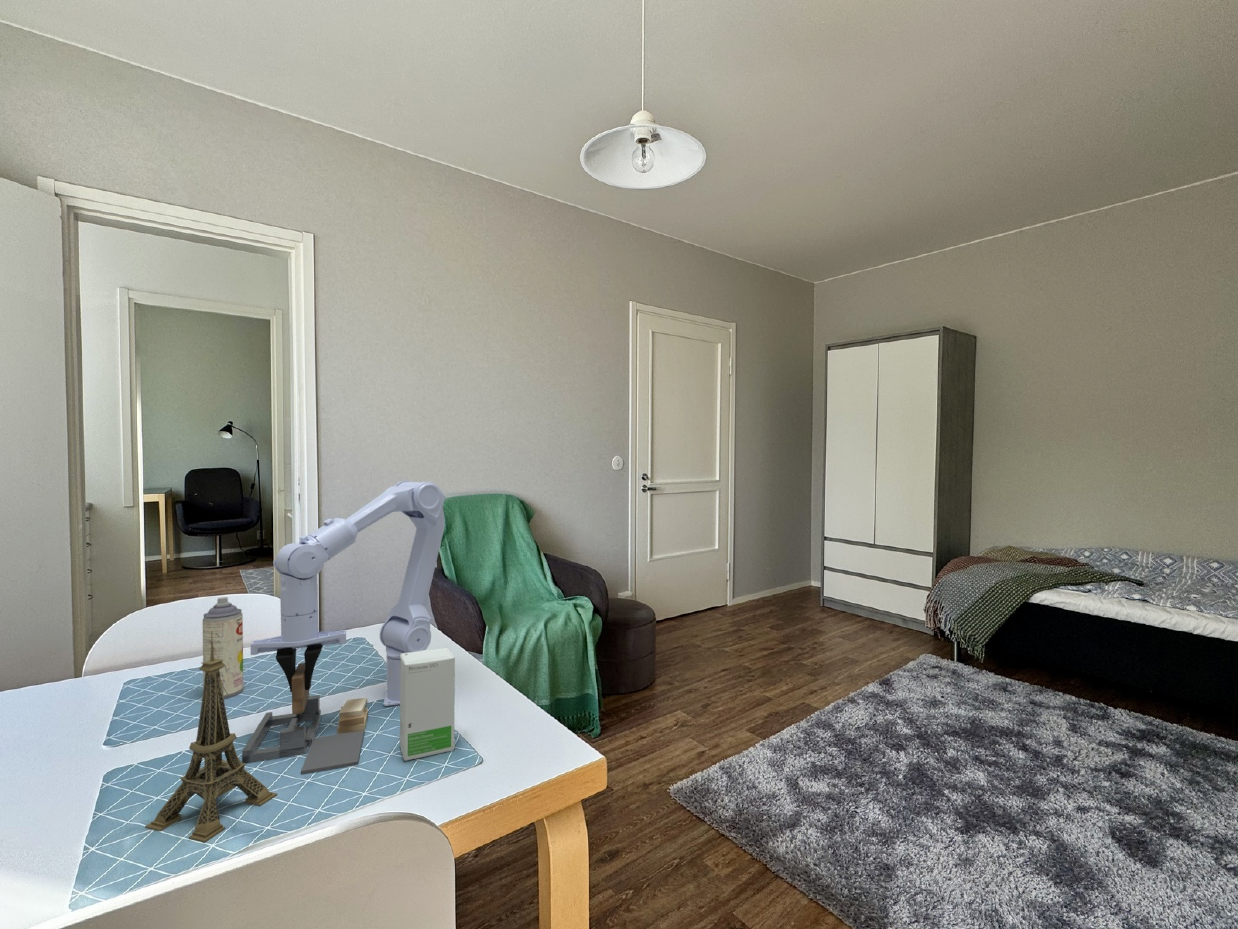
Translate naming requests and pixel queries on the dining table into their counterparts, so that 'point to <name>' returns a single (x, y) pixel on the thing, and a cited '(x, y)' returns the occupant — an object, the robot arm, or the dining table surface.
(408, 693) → the skincare box
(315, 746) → the mat
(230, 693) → the aerosol can
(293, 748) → the rack
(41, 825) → the dining table surface
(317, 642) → the robot arm
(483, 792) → the dining table surface
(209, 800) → the eiffel tower
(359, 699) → the offcut stack
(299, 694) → the walnut sheet
